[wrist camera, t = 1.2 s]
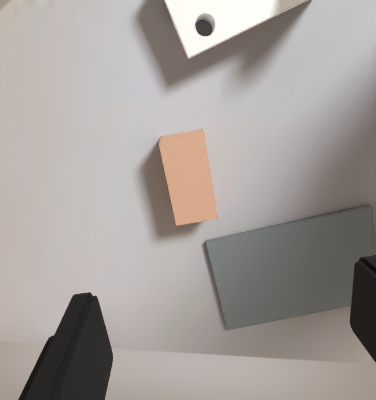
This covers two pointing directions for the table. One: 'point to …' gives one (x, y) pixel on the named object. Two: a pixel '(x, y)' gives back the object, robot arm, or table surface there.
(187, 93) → the table surface
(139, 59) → the table surface
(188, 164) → the card box
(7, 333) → the table surface
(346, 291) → the mat
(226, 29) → the bracket
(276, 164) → the table surface
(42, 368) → the robot arm
